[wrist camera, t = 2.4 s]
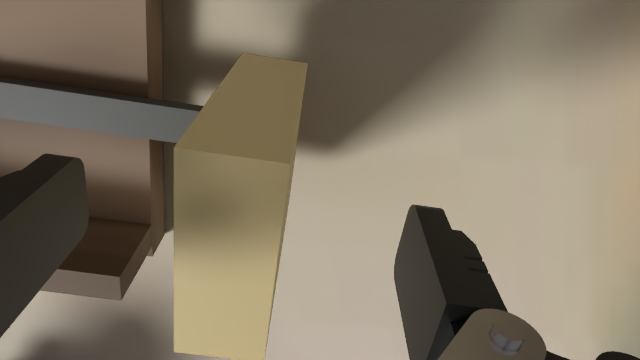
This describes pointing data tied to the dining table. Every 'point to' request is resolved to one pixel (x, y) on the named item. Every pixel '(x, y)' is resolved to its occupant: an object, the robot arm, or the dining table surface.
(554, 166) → the dining table surface
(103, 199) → the wooden lane
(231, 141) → the multicoloured piece
